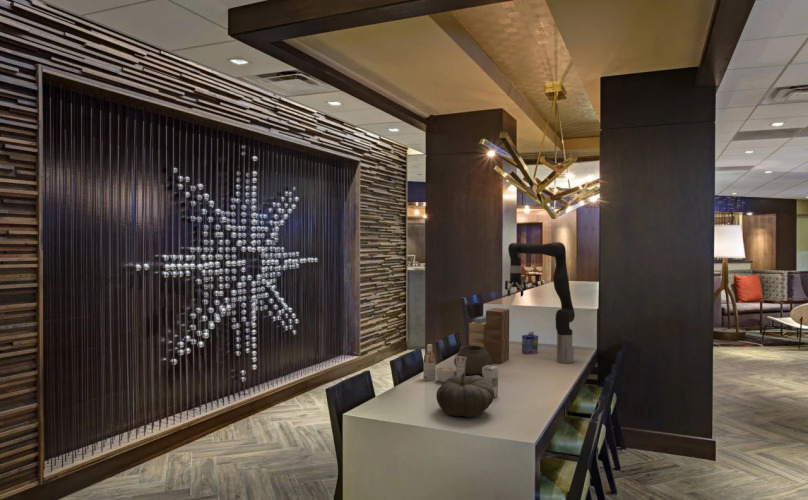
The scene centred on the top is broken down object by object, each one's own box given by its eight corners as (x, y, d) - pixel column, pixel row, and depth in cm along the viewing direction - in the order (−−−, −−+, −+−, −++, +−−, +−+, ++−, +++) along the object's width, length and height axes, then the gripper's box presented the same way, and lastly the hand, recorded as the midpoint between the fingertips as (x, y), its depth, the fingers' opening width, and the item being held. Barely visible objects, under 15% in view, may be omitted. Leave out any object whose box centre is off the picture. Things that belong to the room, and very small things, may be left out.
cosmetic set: (470, 382, 286) (470, 347, 285) (463, 386, 278) (463, 350, 277) (428, 376, 298) (428, 342, 298) (420, 380, 290) (420, 345, 290)
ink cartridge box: (526, 354, 360) (526, 332, 360) (521, 353, 365) (521, 331, 365) (538, 353, 364) (538, 332, 364) (533, 351, 369) (533, 330, 369)
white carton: (487, 394, 264) (487, 364, 264) (498, 396, 260) (498, 366, 260) (481, 396, 260) (481, 366, 259) (492, 399, 256) (492, 368, 256)
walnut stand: (493, 357, 349) (494, 308, 349) (508, 359, 345) (509, 309, 344) (485, 362, 335) (485, 310, 335) (501, 364, 331) (501, 311, 330)
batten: (488, 318, 373) (488, 314, 372) (493, 319, 371) (493, 314, 371) (474, 323, 350) (474, 318, 350) (480, 323, 348) (480, 319, 348)
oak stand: (478, 352, 365) (479, 320, 365) (492, 354, 361) (493, 321, 360) (468, 357, 349) (469, 323, 349) (483, 359, 345) (483, 324, 344)
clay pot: (491, 379, 293) (491, 352, 292) (451, 377, 297) (452, 350, 297) (492, 370, 314) (492, 344, 314) (456, 368, 318) (456, 343, 318)
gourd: (494, 398, 246) (490, 363, 244) (498, 426, 222) (494, 386, 219) (439, 402, 249) (435, 367, 246) (437, 429, 225) (433, 390, 222)
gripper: (503, 272, 368) (503, 296, 368) (524, 272, 361) (524, 297, 361) (507, 271, 374) (506, 295, 374) (527, 272, 367) (527, 296, 368)
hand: (515, 296), depth 368 cm, fingers open, 8 cm apart
